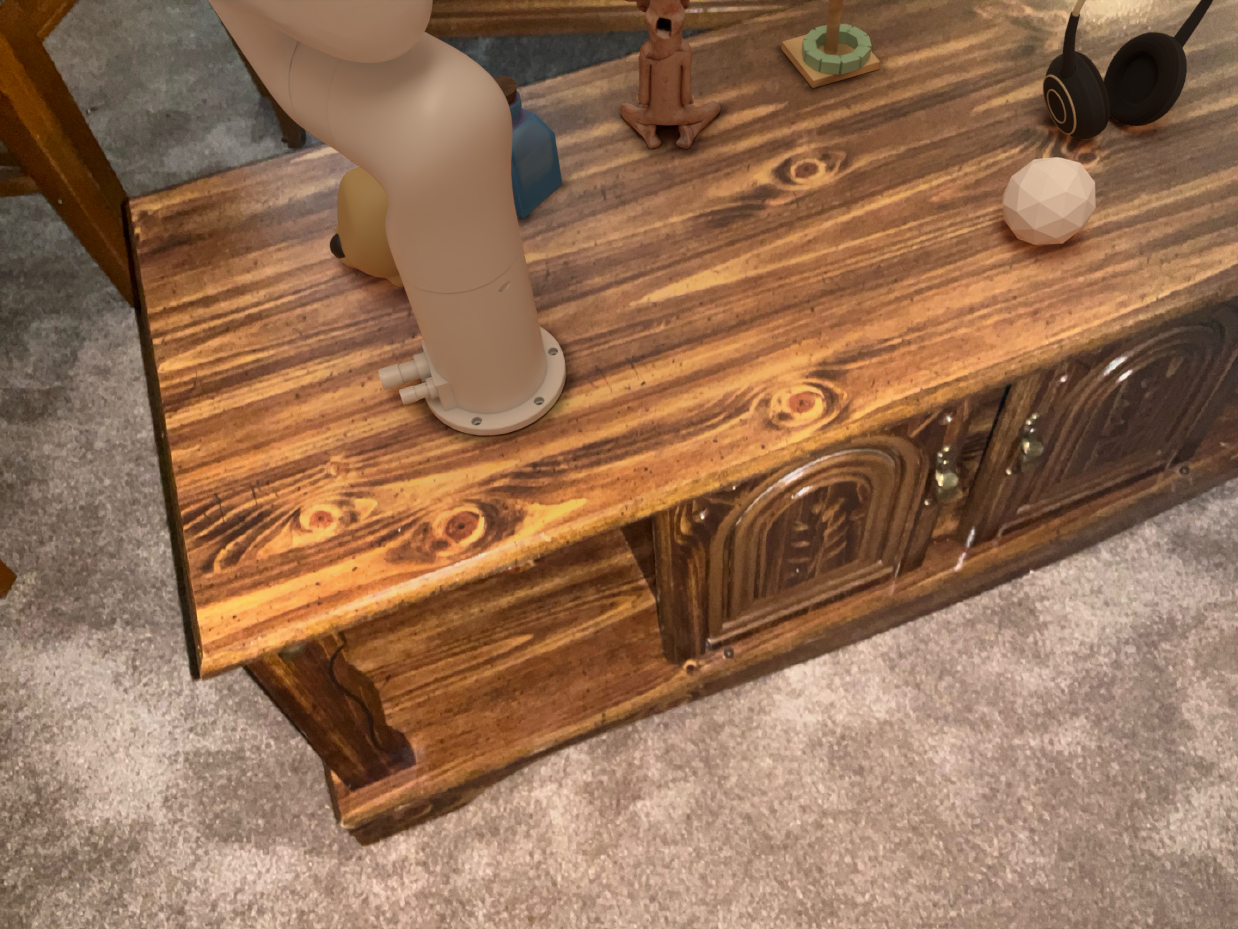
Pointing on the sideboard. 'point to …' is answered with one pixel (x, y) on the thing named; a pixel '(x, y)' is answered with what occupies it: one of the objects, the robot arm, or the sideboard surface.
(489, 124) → the robot arm
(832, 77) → the peg stand
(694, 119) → the figurine
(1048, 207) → the geometric ball
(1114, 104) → the headphones
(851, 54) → the ring
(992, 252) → the sideboard surface
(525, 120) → the perfume bottle
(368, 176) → the toy pig
